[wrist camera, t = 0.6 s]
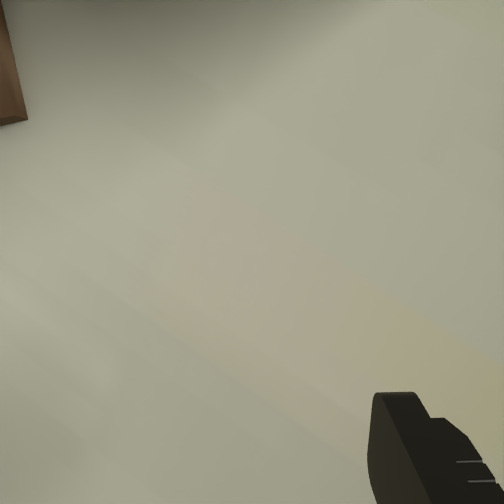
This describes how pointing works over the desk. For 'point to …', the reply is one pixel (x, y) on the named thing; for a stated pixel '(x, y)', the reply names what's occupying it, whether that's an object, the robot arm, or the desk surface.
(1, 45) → the mount board
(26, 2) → the desk surface
